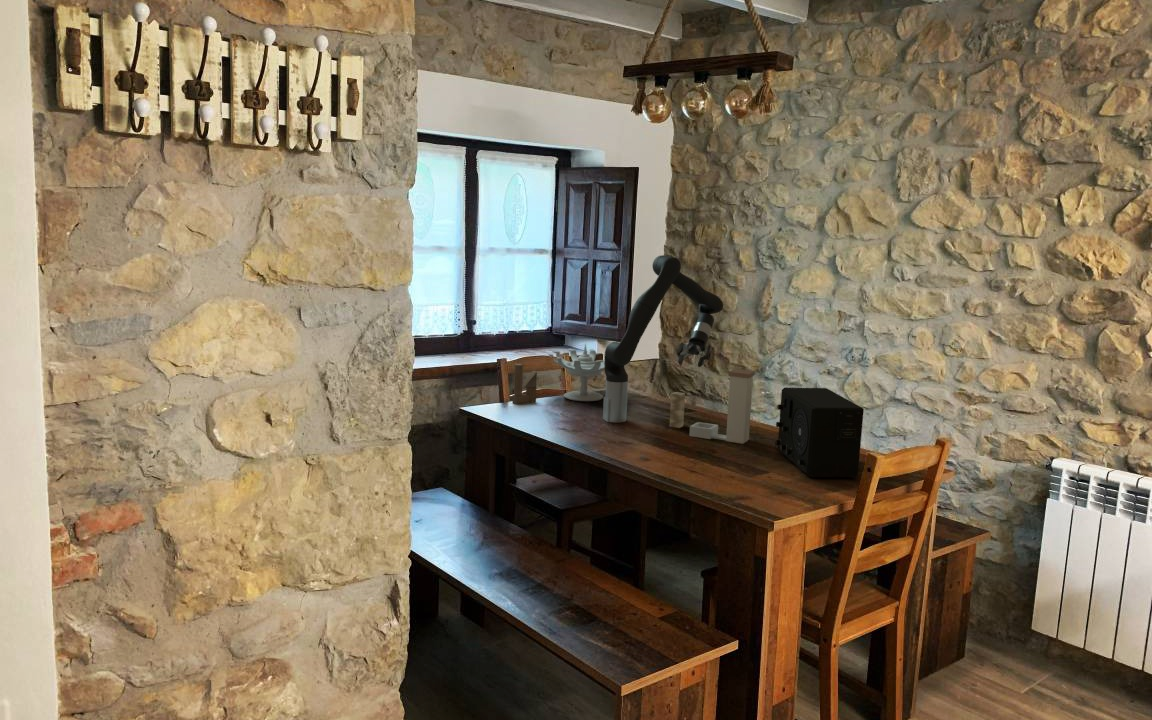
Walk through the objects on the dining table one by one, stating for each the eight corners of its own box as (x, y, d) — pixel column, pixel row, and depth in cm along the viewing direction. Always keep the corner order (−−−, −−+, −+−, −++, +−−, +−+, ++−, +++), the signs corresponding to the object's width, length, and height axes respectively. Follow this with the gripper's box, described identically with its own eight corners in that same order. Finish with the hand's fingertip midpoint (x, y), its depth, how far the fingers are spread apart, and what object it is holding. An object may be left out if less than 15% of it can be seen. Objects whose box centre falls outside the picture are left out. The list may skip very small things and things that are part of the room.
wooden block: (536, 402, 408) (537, 363, 405) (516, 404, 401) (517, 365, 398) (531, 400, 411) (532, 362, 408) (512, 403, 404) (512, 364, 401)
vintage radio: (769, 450, 337) (773, 385, 333) (819, 451, 339) (824, 386, 334) (802, 480, 300) (808, 407, 296) (858, 480, 302) (865, 408, 298)
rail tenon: (669, 426, 369) (671, 393, 367) (673, 424, 373) (675, 391, 371) (679, 428, 367) (681, 394, 365) (683, 426, 371) (685, 393, 369)
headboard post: (689, 435, 355) (693, 367, 350) (697, 431, 362) (701, 364, 358) (743, 444, 344) (748, 374, 340) (750, 439, 352) (755, 371, 347)
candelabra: (629, 405, 407) (631, 346, 402) (554, 406, 399) (555, 346, 395) (610, 390, 440) (612, 336, 435) (540, 391, 432) (542, 336, 427)
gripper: (683, 328, 385) (671, 357, 377) (714, 331, 378) (703, 361, 370) (686, 338, 390) (675, 368, 382) (717, 342, 383) (707, 372, 375)
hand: (689, 364), depth 376 cm, fingers open, 8 cm apart
